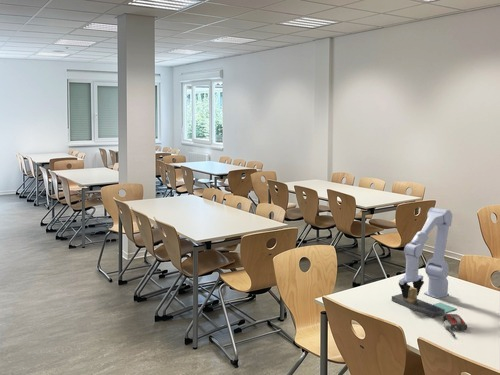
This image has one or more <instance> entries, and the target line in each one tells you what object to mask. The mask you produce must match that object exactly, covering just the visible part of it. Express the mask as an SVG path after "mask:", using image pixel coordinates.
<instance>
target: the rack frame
mask: <svg viewBox="0 0 500 375" xmlns="http://www.w3.org/2000/svg"><path fill="white" fill-rule="evenodd" d="M391 302H393V303H396V304H399V305H401V306H404V307H406V308H407V309H411V310H412V311H416V312H418V313H419V314H423V315H425V316H428V317H430V318H432V319H434V318H437V317H439V316H444V315H445V314H446V313H445V309H442V308H440V307H437V306H435V305H433V304H432V303H430V302H427V301H424V300H422V299H419V298H417V301H416V302H412V303H410V302H408V301H405V300H404V298H403V295H402V293H399V294H396V295H392V296H391Z"/></svg>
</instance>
